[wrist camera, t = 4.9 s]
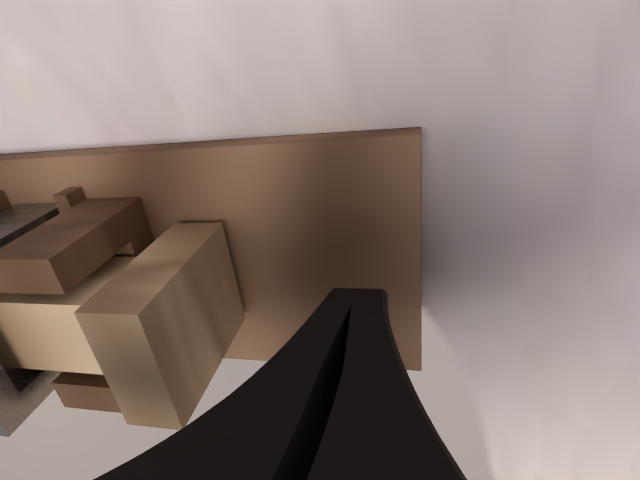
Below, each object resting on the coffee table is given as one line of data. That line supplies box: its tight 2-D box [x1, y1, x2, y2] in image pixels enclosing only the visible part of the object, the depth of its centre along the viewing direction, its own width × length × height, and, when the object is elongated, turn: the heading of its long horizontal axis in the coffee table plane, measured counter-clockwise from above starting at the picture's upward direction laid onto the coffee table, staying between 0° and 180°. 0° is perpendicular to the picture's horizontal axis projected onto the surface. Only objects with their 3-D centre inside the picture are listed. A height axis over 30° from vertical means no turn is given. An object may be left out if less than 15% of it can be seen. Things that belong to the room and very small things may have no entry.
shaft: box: [0, 223, 245, 430], centre depth 13 cm, size 9×4×4 cm, turn 97°
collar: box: [0, 202, 62, 437], centre depth 13 cm, size 2×5×5 cm, turn 7°
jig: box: [0, 127, 421, 413], centre depth 13 cm, size 17×8×5 cm, turn 97°
